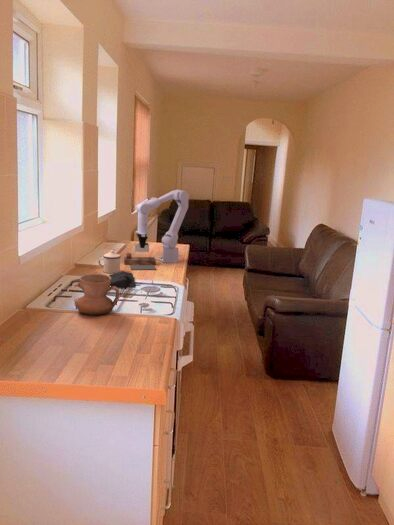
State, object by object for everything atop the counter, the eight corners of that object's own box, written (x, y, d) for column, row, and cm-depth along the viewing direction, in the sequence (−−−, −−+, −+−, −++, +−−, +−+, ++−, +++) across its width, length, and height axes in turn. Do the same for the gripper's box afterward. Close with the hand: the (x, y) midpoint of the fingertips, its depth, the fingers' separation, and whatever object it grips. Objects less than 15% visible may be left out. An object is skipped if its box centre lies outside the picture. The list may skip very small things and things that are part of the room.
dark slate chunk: (136, 277, 236) (137, 268, 235) (134, 289, 215) (134, 279, 213) (107, 276, 234) (107, 267, 233) (102, 288, 213) (102, 278, 212)
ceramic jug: (67, 316, 172) (68, 280, 169) (79, 304, 187) (80, 271, 183) (114, 320, 172) (115, 284, 169) (122, 308, 186) (123, 275, 183)
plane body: (154, 262, 271) (154, 252, 270) (155, 265, 264) (156, 255, 262) (123, 261, 268) (124, 251, 266) (124, 264, 260) (124, 254, 259)
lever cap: (148, 250, 267) (148, 242, 266) (148, 252, 263) (149, 243, 262) (134, 250, 266) (134, 242, 265) (135, 251, 261) (135, 243, 260)
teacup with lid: (122, 270, 247) (122, 249, 244) (118, 274, 238) (118, 252, 235) (100, 268, 248) (100, 248, 245) (95, 272, 239) (96, 251, 236)
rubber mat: (154, 266, 261) (154, 265, 260) (156, 270, 252) (156, 269, 252) (130, 266, 258) (130, 265, 258) (131, 269, 249) (131, 268, 249)
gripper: (134, 222, 267) (134, 244, 270) (136, 225, 253) (136, 249, 256) (146, 222, 268) (146, 244, 271) (149, 226, 254) (148, 249, 257)
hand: (142, 247), depth 264 cm, fingers closed on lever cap, 5 cm apart
